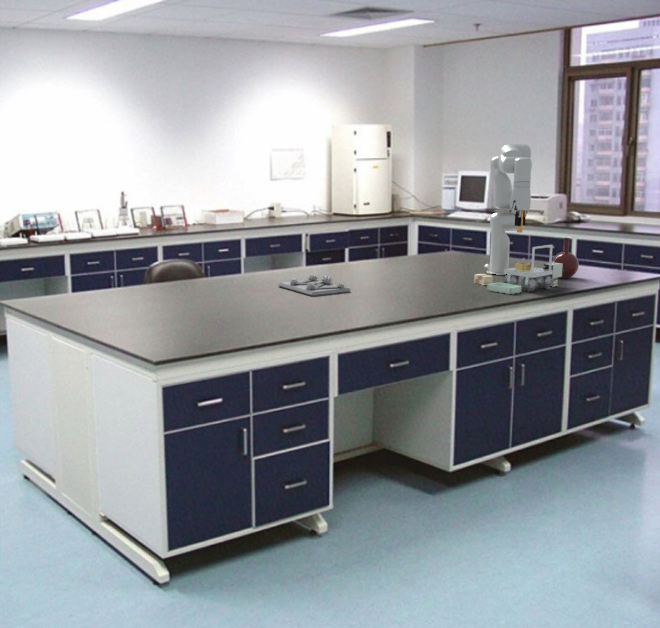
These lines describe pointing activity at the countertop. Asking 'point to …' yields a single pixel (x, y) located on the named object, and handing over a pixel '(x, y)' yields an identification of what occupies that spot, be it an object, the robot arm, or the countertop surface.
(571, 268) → the round-bottom flask
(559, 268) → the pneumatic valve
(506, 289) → the tray
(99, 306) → the countertop surface
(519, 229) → the pin
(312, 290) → the decorative plate
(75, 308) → the countertop surface
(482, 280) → the block
